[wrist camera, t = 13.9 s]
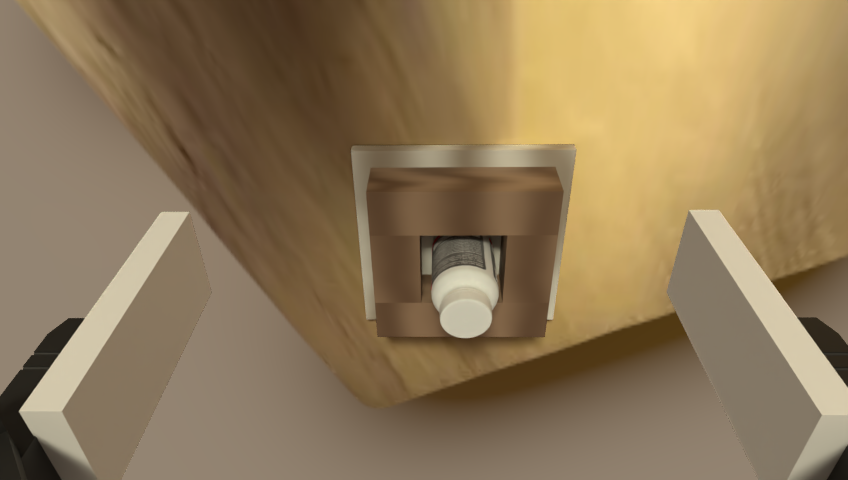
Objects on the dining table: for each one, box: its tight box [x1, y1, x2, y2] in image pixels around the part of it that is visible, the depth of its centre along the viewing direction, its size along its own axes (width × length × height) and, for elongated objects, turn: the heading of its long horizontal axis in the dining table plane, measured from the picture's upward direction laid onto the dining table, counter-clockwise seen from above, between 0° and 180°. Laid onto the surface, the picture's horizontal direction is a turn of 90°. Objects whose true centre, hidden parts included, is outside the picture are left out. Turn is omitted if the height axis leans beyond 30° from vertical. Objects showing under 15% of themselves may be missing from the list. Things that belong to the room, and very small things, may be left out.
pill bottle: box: [431, 235, 499, 338], centre depth 50 cm, size 5×5×10 cm
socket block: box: [351, 144, 576, 337], centre depth 52 cm, size 18×18×5 cm
